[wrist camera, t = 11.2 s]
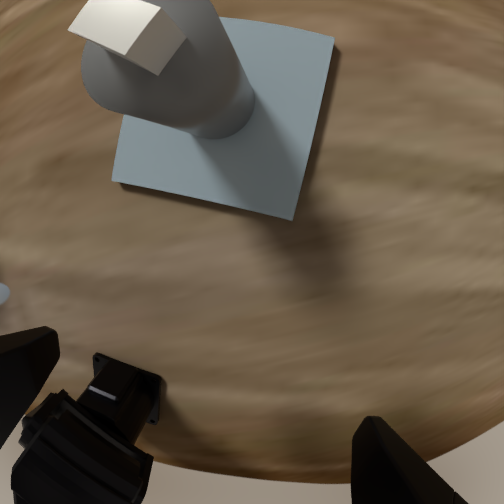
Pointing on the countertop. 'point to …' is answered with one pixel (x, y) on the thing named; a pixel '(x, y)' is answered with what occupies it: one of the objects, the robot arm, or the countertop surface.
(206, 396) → the countertop surface
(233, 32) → the coaster
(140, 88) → the grey tall rounded piece
